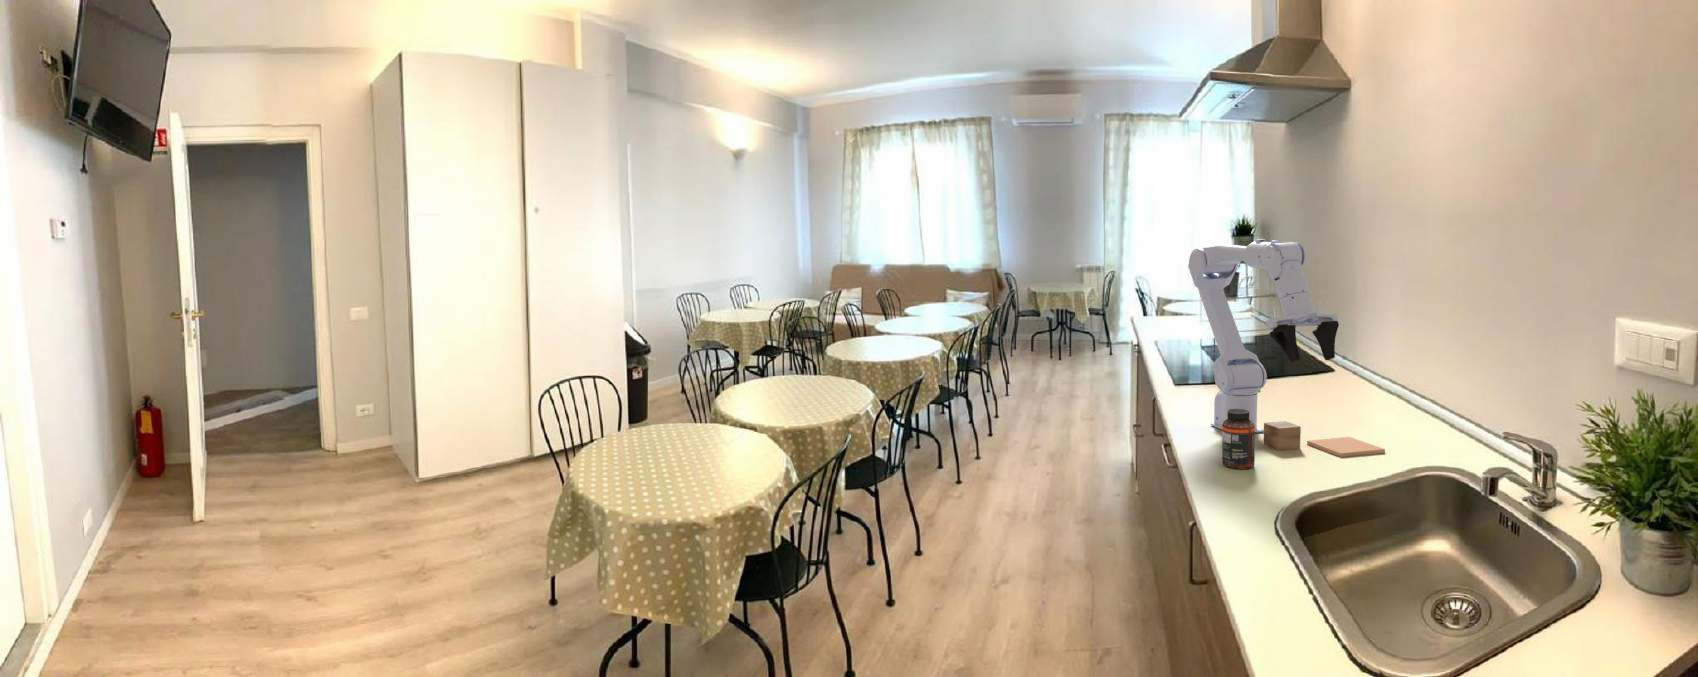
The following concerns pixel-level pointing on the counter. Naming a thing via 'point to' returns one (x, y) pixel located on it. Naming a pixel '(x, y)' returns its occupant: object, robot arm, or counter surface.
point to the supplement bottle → (1238, 440)
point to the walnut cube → (1282, 435)
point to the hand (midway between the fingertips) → (1313, 360)
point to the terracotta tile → (1345, 446)
